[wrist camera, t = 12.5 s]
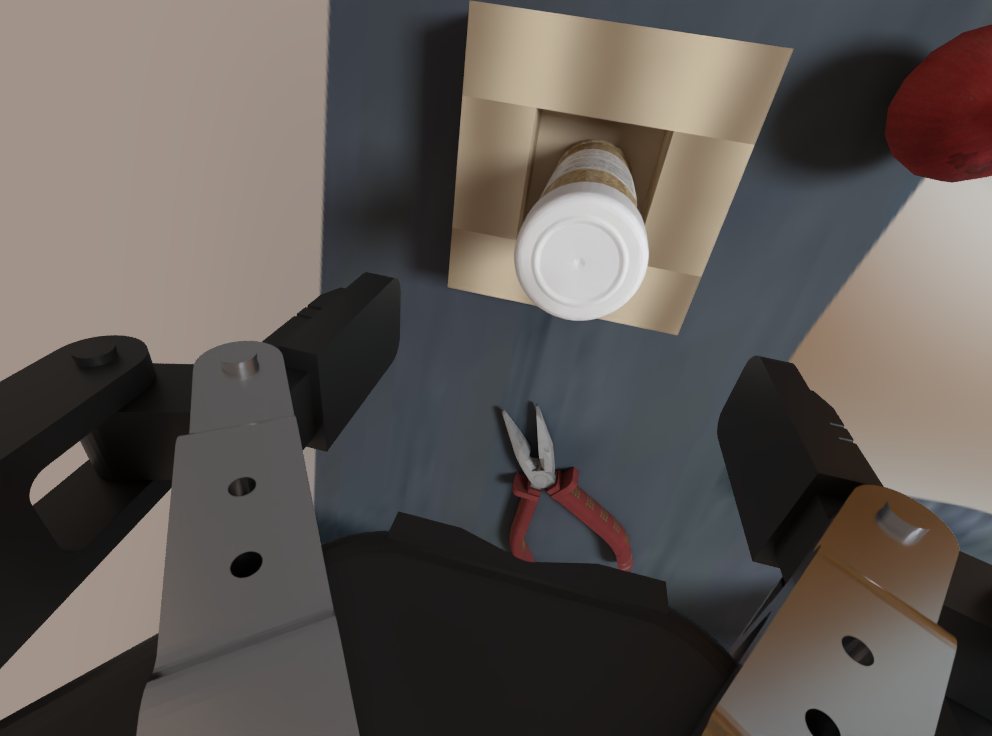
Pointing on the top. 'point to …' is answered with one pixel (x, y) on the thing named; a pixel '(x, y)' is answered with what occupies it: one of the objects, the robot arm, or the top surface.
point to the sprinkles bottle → (584, 236)
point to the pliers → (556, 495)
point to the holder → (604, 116)
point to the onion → (946, 111)
